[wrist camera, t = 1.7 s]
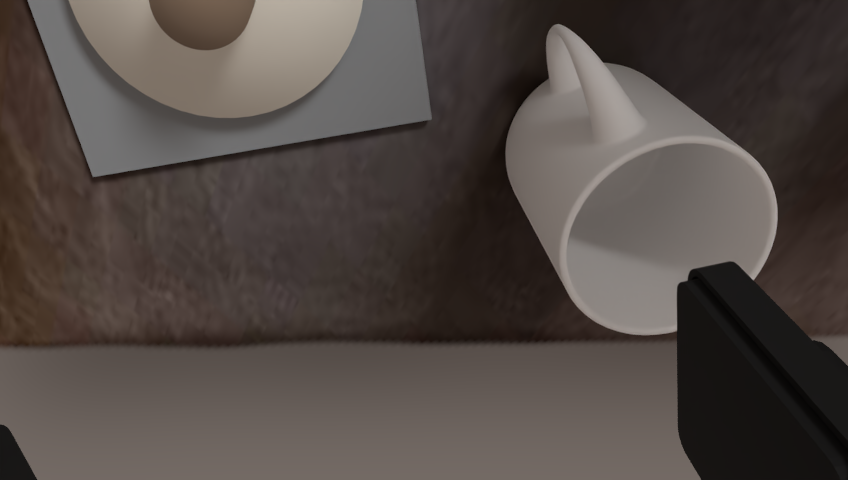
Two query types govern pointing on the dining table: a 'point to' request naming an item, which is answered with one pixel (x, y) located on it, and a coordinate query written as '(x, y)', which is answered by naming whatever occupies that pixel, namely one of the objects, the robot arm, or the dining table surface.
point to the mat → (207, 136)
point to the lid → (220, 49)
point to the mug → (631, 188)
